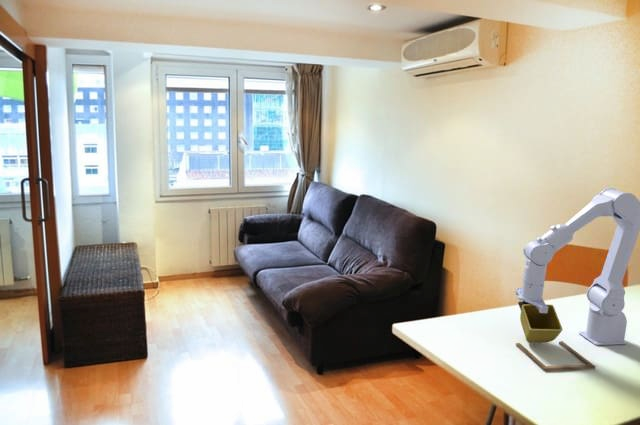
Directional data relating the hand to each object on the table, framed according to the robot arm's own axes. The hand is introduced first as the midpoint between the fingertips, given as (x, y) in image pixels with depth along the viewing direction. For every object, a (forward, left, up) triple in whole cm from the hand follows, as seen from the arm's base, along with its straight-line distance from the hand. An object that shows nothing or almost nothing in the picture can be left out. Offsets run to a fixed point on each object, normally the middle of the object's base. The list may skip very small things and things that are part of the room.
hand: (526, 326), depth 142 cm
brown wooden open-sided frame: (-1, +13, -3) cm, 13 cm away
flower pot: (-1, +3, -2) cm, 4 cm away
